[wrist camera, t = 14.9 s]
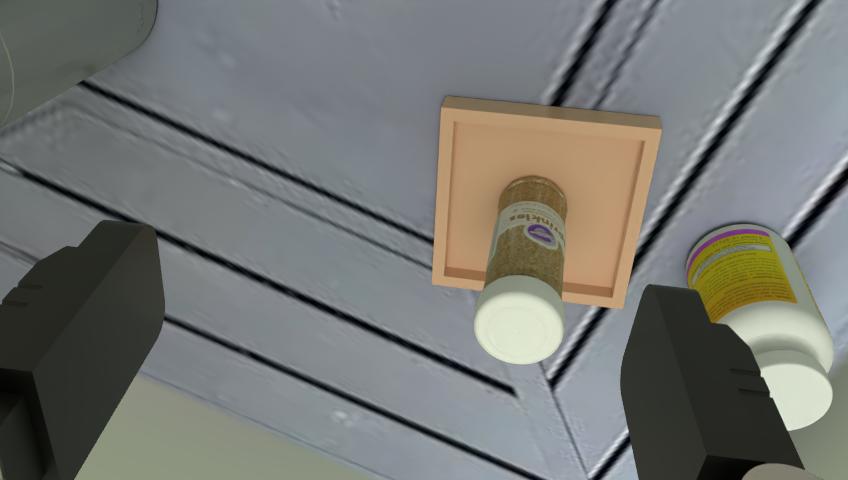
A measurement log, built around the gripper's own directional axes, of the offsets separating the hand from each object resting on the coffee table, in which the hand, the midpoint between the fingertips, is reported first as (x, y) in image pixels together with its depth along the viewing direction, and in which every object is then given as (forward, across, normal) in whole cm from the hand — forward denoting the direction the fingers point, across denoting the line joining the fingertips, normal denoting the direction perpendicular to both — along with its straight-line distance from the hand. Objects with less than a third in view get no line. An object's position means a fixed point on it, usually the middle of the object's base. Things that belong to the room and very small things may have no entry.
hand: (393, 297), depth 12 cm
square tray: (+34, -7, +16) cm, 38 cm away
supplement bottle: (+33, -20, +18) cm, 43 cm away
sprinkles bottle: (+33, -6, +16) cm, 37 cm away
